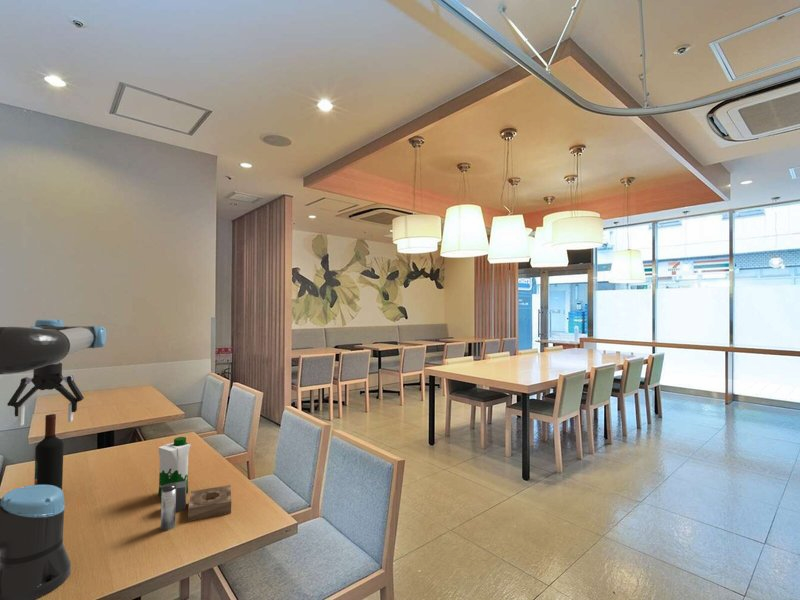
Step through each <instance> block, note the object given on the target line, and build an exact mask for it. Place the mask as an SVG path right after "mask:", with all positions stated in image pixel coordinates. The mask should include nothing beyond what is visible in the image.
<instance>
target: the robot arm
mask: <svg viewBox="0 0 800 600" xmlns="http://www.w3.org/2000/svg"><path fill="white" fill-rule="evenodd" d="M106 342H107V329H106V328H105V327H104V326H101V325H99V326H98V325H97V326H96V325H91V326H89V325H87V326H86V325H85V326H83V325H82V326H81V325H80V326H79V325H78V326H76V325H75V326H64V321H63V320H62V319H56V318H55V319H52V318H51V319H48V318H47V319H45V318H44V319H37V320H36V321H35V323H34V326H30V327H26V326H25V327H24V326H0V375H11V374H18V373H24V372H29V371H33V376H32V377H28V376H25V377H22V378H21V379H20V383H19V386H18V387H17V389H16V391H15V392H14V393H13V394H12V396H11V398H10V400H9V401H8V403H7V404H6V405H7V407H13V408H14V417H17V428H19V427H23V426H24V425H25V415H26V414H25V412H26V411H25V409H26V406H25V405H23V404H24V403H26V401H27V400H29V399H30V398H31V397H32V396H33V395H34V394H35V393H36V392H37V391H38V390H40V391H45V390H48V391H49V390H50V391H51V390H54V389H55V391H58V392H59V393H60V394H61V395H62V396H63V397H64V398H65V399H66V400H68V402H69V403H68V409H67V413H68V414H67V422H68V423H71V422H73V421H74V413H76V412H77V411H78V403H79V402H82V401H83V400H84V399H85V397H84V395H83V394H82V392H81V391H80V389H79V387H78V385H77V384H76V383H75V380H74V376H73V374H71V375H65V376H63V374H62V373H63V363H62V361H63V359H65V358H66V357H67V355H70V354H72V353H73V354H74V353H76V352H79V351H81V350H85V349H99V348H100V349H101V348H103V347H104V346H105V345H106ZM63 381H64V382H65V383H67V386H68V387H69V388H70V390H71V392H72V393H73V394H72V393H71V392H70V391H69V390H68V389H67V388H65V386H64V385H63V384H62V382H63ZM30 383H32V384H33V387H31V389H30V390H29V391H28V392H26V394H24V395H23V396H22V397H21V398H20V396H21V395H22V394H23V392H24V390H25V389H26V387H27V385H29V384H30ZM18 399H19V400H18ZM65 509H66V504H65V494H64V491H63V489H62V490H61V489H60V488H58V487H56V486H53V485H34V484H31V485H26V486H24V487H17V488H14V489H12V490H10V491H8V492H6V493H5V494H4V495H3V496H2V497H1V498H0V600H35V599H38V598H41V597H42V596H45V595H46V594H49V593H51V592H52V591H53V590H55V589H57V588H58V587H60V586H61V585H62V584H63V583H64V582H65V581H66V580H67V579H68V578H69V576H70V575H71V570H72V568H71V567H72V565H71V563H72V562H71V559H70V557H69V555H68V552H67V550H66V548H65V546H64V525H65V524H64V522H65V517H64V516H65Z"/></svg>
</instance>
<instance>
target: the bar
mask: <svg viewBox="0 0 800 600" xmlns="http://www.w3.org/2000/svg"><path fill="white" fill-rule="evenodd" d="M186 483H187V481H183V482H176V483H175V484H176V512H183V511H185V509H186V505H187V493H186Z"/></svg>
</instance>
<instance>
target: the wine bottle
mask: <svg viewBox="0 0 800 600" xmlns="http://www.w3.org/2000/svg"><path fill="white" fill-rule="evenodd" d="M44 420H45V424H44V426H45V427H44V428H45V429H44V438H43V439H42V440H41V441H39V442H38V443H37V445H35V451H34V452H35V453H34V454H35V455H34V484H33V485H53V486H56V487H58V488H60V489H61V490H62V491H63V476H64V475H63V472H64V471H63V470H64V445H65V444H64V441H63V440H62V439H61V438H59V437H58V436H56V425H57V424H56V422H57V421H56V420H57V414H56V413H51V414H47V415H45V419H44Z"/></svg>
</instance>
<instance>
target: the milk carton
mask: <svg viewBox="0 0 800 600" xmlns="http://www.w3.org/2000/svg"><path fill="white" fill-rule="evenodd" d="M191 445H192V444H190V443H187V437H186V436H180V437H179V436H178V437H175V438H174V439H173V442H170V443H167V444H164V445H161V446H159V447H157V448H158V455H159V456H158V457H159V470H158V471H159V475H158V477H159V479H158V480H159V482H158V494H157V495H158V497H160V498H161V495H162V486H163V485H165V484H168V483H176V482H183V481H187V483H186V494H188V493H189V481H188V480H189V479H188V477H189V473H188V472H189V454H190V449H191Z"/></svg>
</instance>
